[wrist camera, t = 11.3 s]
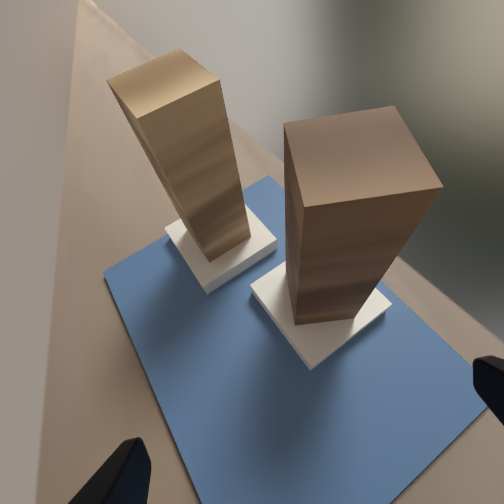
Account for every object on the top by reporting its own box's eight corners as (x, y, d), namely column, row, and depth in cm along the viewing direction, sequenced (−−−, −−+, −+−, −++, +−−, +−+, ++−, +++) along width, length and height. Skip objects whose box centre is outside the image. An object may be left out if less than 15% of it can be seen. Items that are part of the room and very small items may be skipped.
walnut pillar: (354, 318, 19) (443, 186, 8) (294, 325, 19) (304, 207, 8) (339, 265, 21) (394, 105, 10) (285, 272, 21) (283, 123, 10)
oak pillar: (251, 236, 23) (219, 79, 12) (209, 262, 22) (136, 118, 11) (226, 206, 25) (179, 48, 14) (187, 230, 24) (106, 80, 13)
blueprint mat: (494, 394, 18) (517, 391, 16) (258, 625, 14) (254, 657, 12) (269, 179, 29) (267, 163, 27) (106, 274, 25) (92, 263, 23)
